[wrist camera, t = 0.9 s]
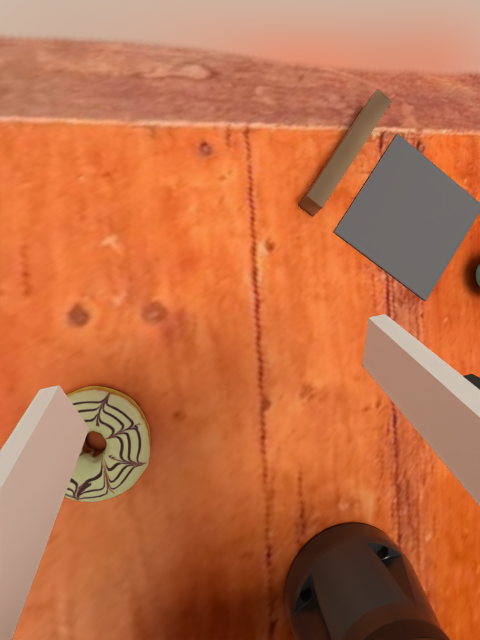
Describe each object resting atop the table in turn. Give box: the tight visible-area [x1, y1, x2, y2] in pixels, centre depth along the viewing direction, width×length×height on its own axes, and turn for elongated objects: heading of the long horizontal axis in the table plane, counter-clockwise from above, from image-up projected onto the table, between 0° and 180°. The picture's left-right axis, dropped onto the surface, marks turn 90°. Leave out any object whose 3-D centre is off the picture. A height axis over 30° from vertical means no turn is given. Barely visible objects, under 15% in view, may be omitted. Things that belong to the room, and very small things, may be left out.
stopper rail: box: [299, 89, 392, 216], centre depth 29 cm, size 2×14×2 cm, turn 146°
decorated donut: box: [64, 386, 151, 502], centre depth 26 cm, size 10×11×4 cm
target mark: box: [334, 133, 480, 301], centre depth 32 cm, size 14×14×1 cm
